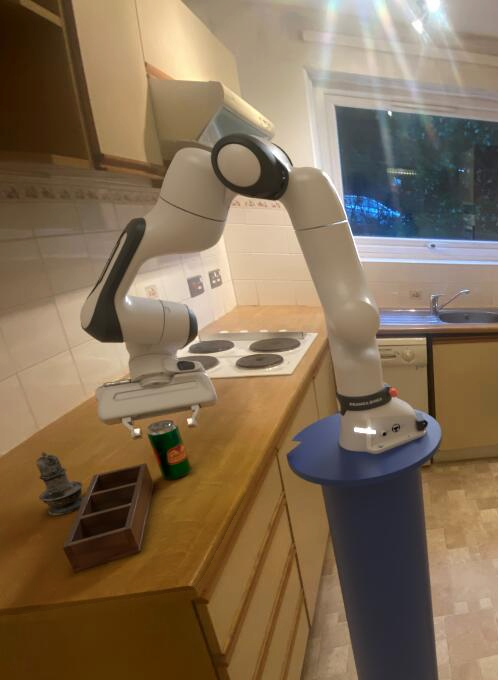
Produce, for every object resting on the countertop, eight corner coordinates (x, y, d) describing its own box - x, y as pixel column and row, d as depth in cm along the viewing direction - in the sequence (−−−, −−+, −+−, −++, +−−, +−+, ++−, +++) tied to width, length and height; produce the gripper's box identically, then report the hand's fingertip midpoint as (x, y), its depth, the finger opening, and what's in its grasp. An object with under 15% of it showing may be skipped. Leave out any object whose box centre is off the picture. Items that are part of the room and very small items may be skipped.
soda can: (177, 482, 90) (160, 431, 86) (156, 479, 91) (138, 429, 87) (197, 468, 95) (182, 420, 90) (177, 466, 96) (161, 418, 91)
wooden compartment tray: (153, 483, 90) (146, 462, 88) (140, 552, 72) (130, 528, 70) (102, 496, 86) (93, 475, 84) (74, 572, 68) (62, 547, 66)
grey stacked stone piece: (80, 493, 87) (56, 441, 82) (95, 501, 84) (71, 448, 80) (40, 510, 82) (13, 455, 77) (55, 520, 79) (27, 464, 75)
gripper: (87, 377, 88) (95, 440, 84) (208, 360, 98) (219, 415, 94) (100, 390, 93) (107, 450, 89) (213, 373, 103) (224, 425, 99)
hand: (166, 432), depth 92 cm, fingers open, 8 cm apart
